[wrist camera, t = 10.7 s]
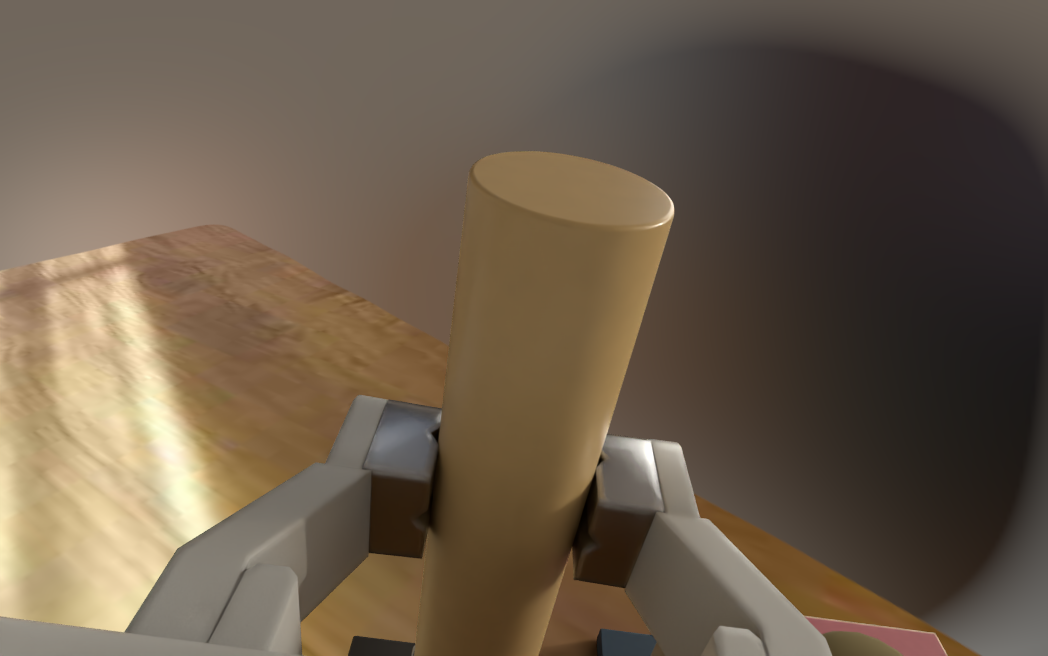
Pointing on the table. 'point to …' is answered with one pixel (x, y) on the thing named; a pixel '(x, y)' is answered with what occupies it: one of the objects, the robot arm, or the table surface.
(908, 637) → the twin pink pillar stand
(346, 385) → the table surface
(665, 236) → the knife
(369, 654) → the knife holder
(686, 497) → the robot arm
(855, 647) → the brown piece
